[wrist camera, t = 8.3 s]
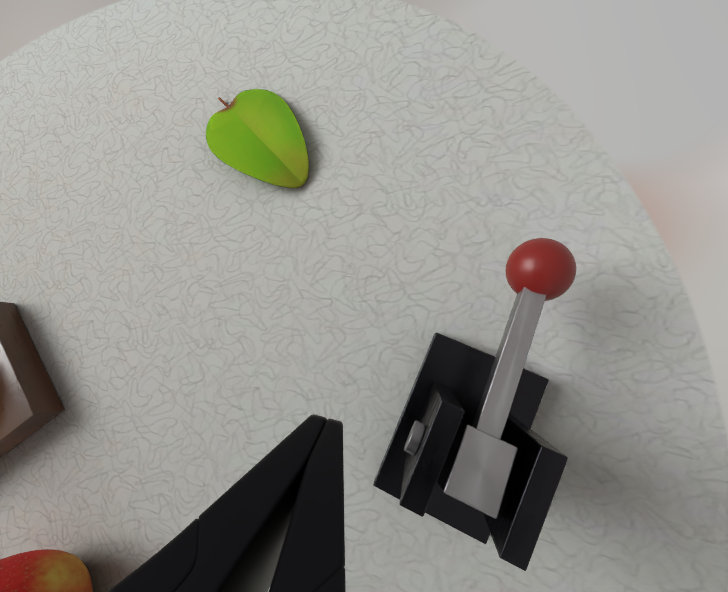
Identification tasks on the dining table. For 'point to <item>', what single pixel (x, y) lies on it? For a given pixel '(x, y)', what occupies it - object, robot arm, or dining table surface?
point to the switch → (505, 379)
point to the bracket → (436, 434)
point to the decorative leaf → (260, 138)
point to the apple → (44, 572)
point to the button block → (22, 383)
